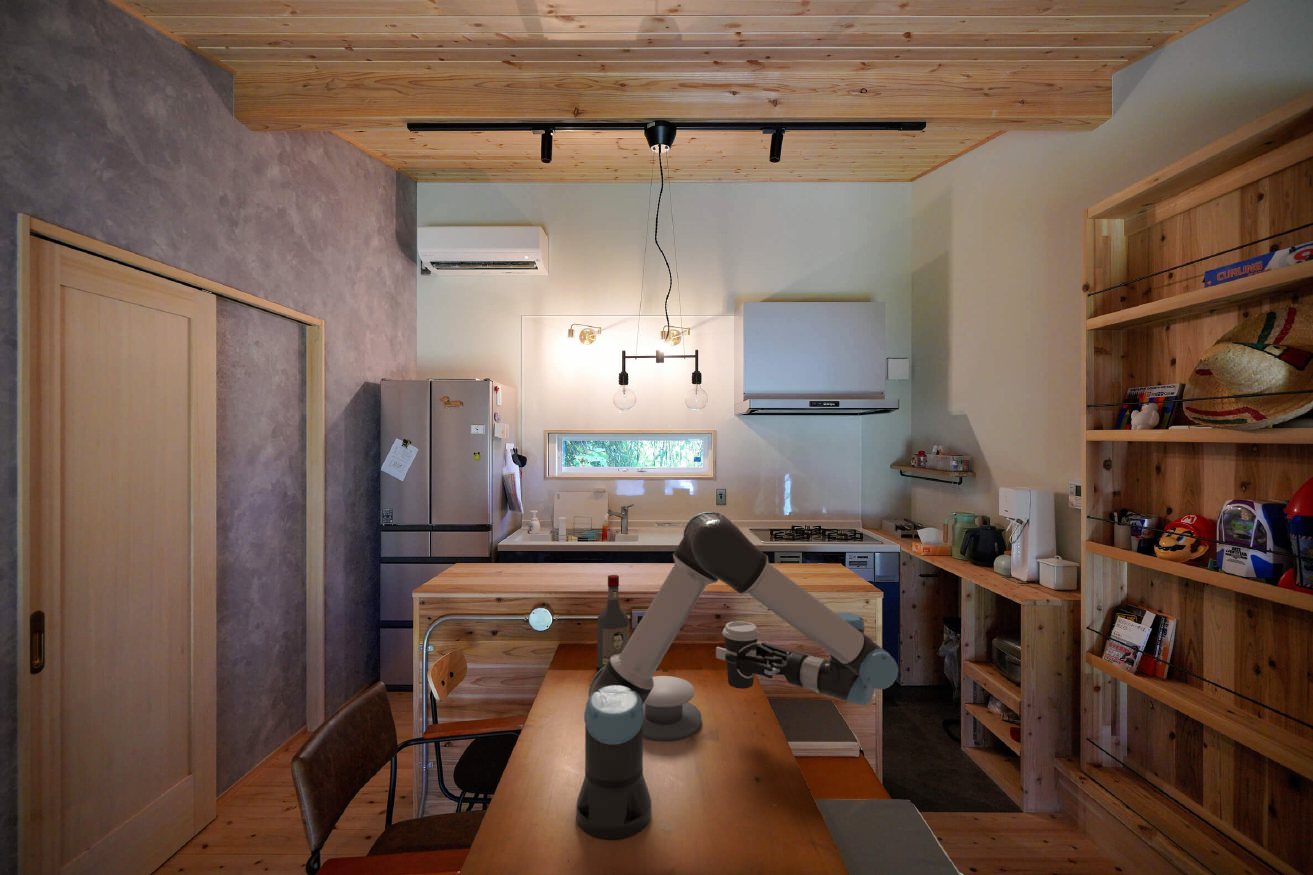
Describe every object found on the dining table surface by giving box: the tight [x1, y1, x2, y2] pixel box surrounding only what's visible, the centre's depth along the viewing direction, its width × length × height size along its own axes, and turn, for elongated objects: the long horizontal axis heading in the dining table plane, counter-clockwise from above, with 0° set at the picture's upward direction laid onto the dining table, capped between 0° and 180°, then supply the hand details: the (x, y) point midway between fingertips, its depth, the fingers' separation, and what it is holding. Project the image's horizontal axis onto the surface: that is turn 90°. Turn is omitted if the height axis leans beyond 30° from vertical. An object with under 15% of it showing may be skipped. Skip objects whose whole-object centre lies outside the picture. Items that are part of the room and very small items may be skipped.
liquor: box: [596, 574, 630, 670], centre depth 185 cm, size 9×9×30 cm
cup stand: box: [643, 675, 702, 742], centre depth 151 cm, size 20×20×8 cm
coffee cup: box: [722, 620, 760, 690], centre depth 148 cm, size 10×10×15 cm
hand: (725, 647), depth 151 cm, fingers closed on coffee cup, 7 cm apart
